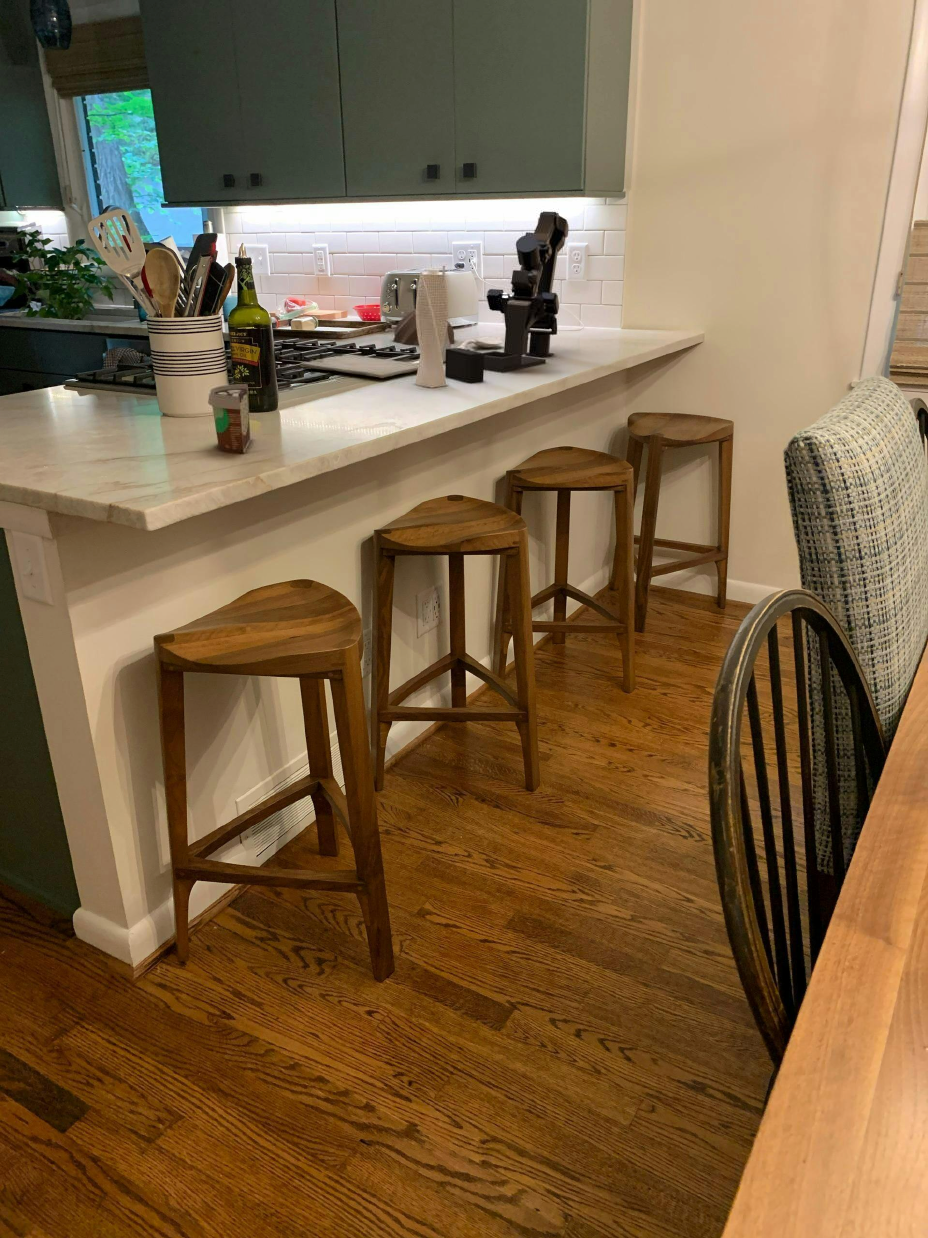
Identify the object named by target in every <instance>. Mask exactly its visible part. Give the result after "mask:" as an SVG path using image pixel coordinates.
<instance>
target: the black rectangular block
mask: <svg viewBox="0 0 928 1238" xmlns="http://www.w3.org/2000/svg"><path fill="white" fill-rule="evenodd" d="M451 348H452V347H451ZM484 353H485V352H480V351H475V350H471V349H468V348H467V349H466V348H465V349H462V348H458V347H453V348H452V349H446V360H445V362H444V364H445V366H444V372H445V378H449V379H454V380H457V381H460V382H466V383H469V384H472V383H482V382H484V375H485V374H484V373H485V370H484Z"/></svg>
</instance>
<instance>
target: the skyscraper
mask: <svg viewBox="0 0 928 1238" xmlns="http://www.w3.org/2000/svg"><path fill="white" fill-rule="evenodd" d="M448 299H449V298H448V289H447V281H446V264H445V263H444V262H443V263H442V272H440V269H436V268H426V272H423V269H420V270H419V278H418V285H417V292H416V299H415V310H416V327H417V335H418V342H419V345H418V346H419V351H420V354H419V360H418V364H419V366H418V370H416V371H417V372H416V378H415V385H416V386H421V387H426V388H431V389H432V388H438V387H444V386H445V387H446V386H447V379H446V377H445V366H444V362H443V359H442V353H441V351H442V348H443V344H444V339H445V334H446V329H447V321H449V320H448V319H449V318H448V317H449V301H448Z"/></svg>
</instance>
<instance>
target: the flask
mask: <svg viewBox="0 0 928 1238" xmlns="http://www.w3.org/2000/svg"><path fill="white" fill-rule="evenodd" d="M448 326H449V324H448V323H447V329H446V334H445V339H444V344H443V348H442V351H441V353H442V359H443V363H445V360H446V349H452V346H451V345H452V344H450V341H449V338H448Z"/></svg>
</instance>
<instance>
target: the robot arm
mask: <svg viewBox="0 0 928 1238" xmlns="http://www.w3.org/2000/svg"><path fill="white" fill-rule="evenodd" d="M569 228H570V227H569V222H568V220H567V219H566V218H564V217H562V216H561V215H560V214H559V212H557V211H541V212H540V213H539V217H538V218H537V224H536V227H535V229H534V231H533V232H529V231H528V232H525V235H522V236H521V237H519V238H518V239H517V240H516V242H515V249H516V255H517V260H518V265H519V266H520V269H519V270H518V269H513V270H512V271H511V277H510V284H511V293H513V294H510V293H508V292H504V289H499V288H498V289H497V288H490V289H488V290H487V292H486V296H485V297H486V300H487V304H488V308H489V310H490V311H491V312H493V311H495V312H500V313H501V314H503V319H504V327H505V328H506V317H507V303H508V301H511V300H520V301H531V309H530V312H529V315H528V318H527V321H526V326H525V329H526V330H527V329H528V328H529V343H528V345H529V346H528V351H527V353H525V354H524V355H526V356H533V357H539V358H545V357H549V356H554V354H555V353H554V352H550V348H551V347H550V346H551V336H556V335H558V319H557V317H556V316H557V315H558V314H559V311H560V302H559V296H558V294H557V292H553V287H554V280H555V273H556V266H557V259H558V253H559V252H560V251H561V249H563V248H564V246H565V243H566V239H567V238H569V237H568V236H569Z"/></svg>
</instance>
